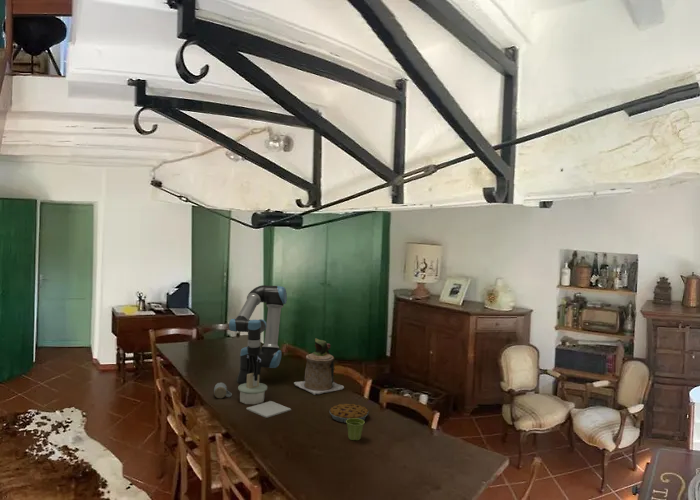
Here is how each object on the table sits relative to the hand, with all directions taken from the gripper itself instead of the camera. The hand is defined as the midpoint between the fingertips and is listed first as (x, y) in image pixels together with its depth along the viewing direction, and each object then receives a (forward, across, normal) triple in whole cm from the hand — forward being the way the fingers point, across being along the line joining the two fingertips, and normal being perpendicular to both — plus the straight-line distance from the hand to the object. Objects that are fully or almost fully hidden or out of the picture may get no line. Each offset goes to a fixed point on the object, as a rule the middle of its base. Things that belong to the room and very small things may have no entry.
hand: (252, 384), depth 325 cm
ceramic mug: (+10, -17, -9) cm, 22 cm away
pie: (+10, +57, +23) cm, 62 cm away
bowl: (+9, 0, 0) cm, 9 cm away
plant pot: (+9, +79, +3) cm, 80 cm away
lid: (+2, 0, 0) cm, 2 cm away
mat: (+9, +19, -3) cm, 22 cm away
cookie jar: (+10, +8, +47) cm, 49 cm away
